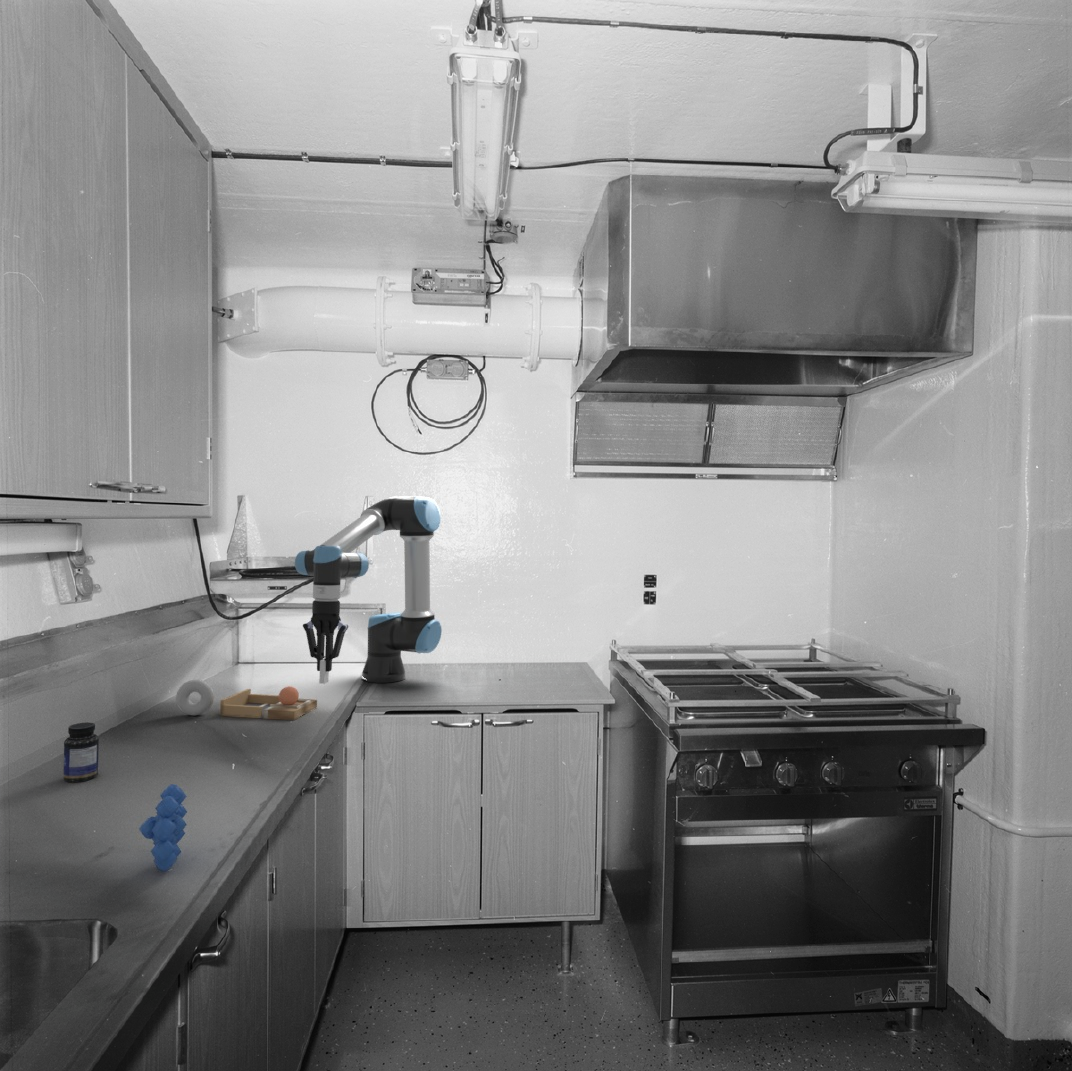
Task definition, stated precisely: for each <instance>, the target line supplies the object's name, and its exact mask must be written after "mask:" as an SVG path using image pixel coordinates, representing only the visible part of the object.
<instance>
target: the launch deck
mask: <svg viewBox="0 0 1072 1071" xmlns="http://www.w3.org/2000/svg"><path fill="white" fill-rule="evenodd" d="M316 707H318V700H317V699H315V698H314V699H311V698H298V700H297V702H296V703H295V704H293V705H283V704H282V703H281V702H279V703H277V704H270V707H269V708H266V709H264V718H263V719H264V720H265V719H267V720H282V721H283V720H285V721H296V720H297V719H299V718H301V717H303V716H304V715H303V714H305V713H306V714H308V713H310V712H312V711H314V710H315V709H317V708H316ZM313 709H314V710H313ZM311 710H312V711H311ZM307 712H308V713H307ZM306 714H305V715H306ZM302 715H303V716H302ZM300 716H301V717H300ZM295 719H296V720H295Z"/></svg>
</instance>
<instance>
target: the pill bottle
mask: <svg viewBox="0 0 1072 1071" xmlns="http://www.w3.org/2000/svg"><path fill="white" fill-rule="evenodd" d="M67 730H68V734H69V736H68V737H66V739H65V740H64V741H63V780H64V781H65V782H68V783H79V782H86V781H89V780H92V779H94V778H95V777H97V775H98V774H99V749H100V748H99V747H100V746H99V745H100V741H99V740H100V739H99V738H100V737H99V736H98V735H97V734H95V731H96V724H95V723H94V722H87V721H86V722H78V723H73V724H71V725H68V729H67Z"/></svg>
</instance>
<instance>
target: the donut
mask: <svg viewBox="0 0 1072 1071" xmlns="http://www.w3.org/2000/svg"><path fill="white" fill-rule="evenodd" d="M192 693H198V694H199V695H200V700H199V701H198V702H192V700H190V696H191V695H192ZM214 699H215V693H214V689H213V687H212V686H211V685H210V684H209V683H208V682H206V681H204V680H201V679H193V680H188V681H186V682H184V683H183V684H182V685H181V686H180V687H179V689H178V690H177V692H176V696H175V702H176V705H177V707H178V709H179V710H180V711H181V712H182V713H184V714H185V715H188V716H200V715H202V714H205V713H207V711H209V710H210V709H211V707H212V705H213V704H214V701H215V700H214Z"/></svg>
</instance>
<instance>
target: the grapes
mask: <svg viewBox="0 0 1072 1071" xmlns="http://www.w3.org/2000/svg"><path fill="white" fill-rule="evenodd" d="M160 798H161V800H160V801H159V803H157V805H156V806H155V810H156V812H155V814H156V815H155V816H149V817H147V819H146V820H145V821H144V822H143V823H142V824H141V825H140V827H139V831H140V833H141V835H142V836H143V837H144V838H145V839H147V840H148V839H149V840H152V841H153V842H152V844H153V845H154V846H153V847H152V849H151V850H150V852H151V854H152V856H153V857H154V859H153V862H154V864H155V866H156V868H157V869H158V870H159V871H161V872H163V871H164V872H167V871H168V870H169V869H170V868H172V866H173V865H174V864H175V863H176V862H177V860H178V857H179V856H180V854H181V853H182V850H181V848H180V847H179V845H178V844H179V842H180V841H181V840H182V838H183V837H184V836H185V834H186V832H185V831H184V829H185V828H186V826H187V822H186V821H185V820H184V817H185V816H186V815H187V813H188V811H187V809H186V808H185V806H184V804H182V803H183V802H184V801H185V799H186V798H187V794H185V792H184V790H183V789H182V788H181V787H179V786H178V785H177V784H174V783H171V784H170V785H168V786H167V787H165V789H164V790H163V791H162V793H161V794H160Z"/></svg>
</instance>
